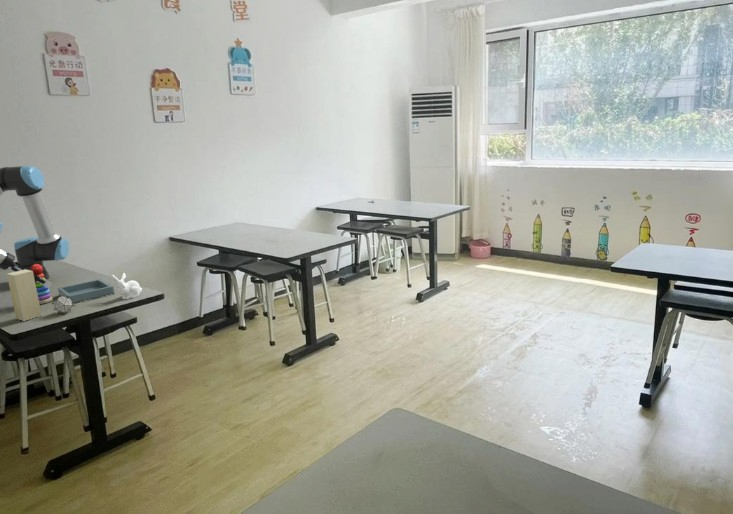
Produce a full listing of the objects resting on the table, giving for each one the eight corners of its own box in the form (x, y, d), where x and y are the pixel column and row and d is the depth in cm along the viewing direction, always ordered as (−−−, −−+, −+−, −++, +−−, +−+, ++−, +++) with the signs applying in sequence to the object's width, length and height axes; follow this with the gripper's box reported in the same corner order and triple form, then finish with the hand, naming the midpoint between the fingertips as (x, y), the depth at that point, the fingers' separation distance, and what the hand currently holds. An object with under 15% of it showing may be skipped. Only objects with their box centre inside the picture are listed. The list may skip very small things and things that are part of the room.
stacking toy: (56, 299, 266) (49, 262, 261) (45, 304, 258) (38, 266, 253) (41, 299, 267) (33, 262, 262) (30, 304, 259) (22, 266, 254)
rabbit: (124, 301, 257) (119, 277, 254) (112, 298, 262) (108, 274, 259) (146, 294, 267) (142, 270, 264) (134, 291, 272) (131, 268, 269)
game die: (63, 320, 247) (58, 300, 250) (80, 312, 247) (75, 292, 250) (50, 317, 239) (45, 296, 242) (67, 309, 239) (62, 288, 242)
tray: (59, 295, 271) (57, 288, 270) (101, 286, 284) (100, 278, 283) (70, 304, 257) (68, 296, 256) (114, 294, 269) (113, 286, 268)
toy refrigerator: (34, 313, 247) (24, 268, 241) (42, 316, 243) (32, 270, 237) (15, 319, 240) (5, 273, 235) (23, 322, 236) (13, 275, 231)
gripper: (-8, 262, 254) (39, 287, 269) (-1, 269, 240) (48, 295, 255) (3, 249, 256) (49, 274, 271) (11, 255, 242) (59, 281, 257)
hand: (48, 284), depth 263 cm, fingers closed on stacking toy, 6 cm apart
